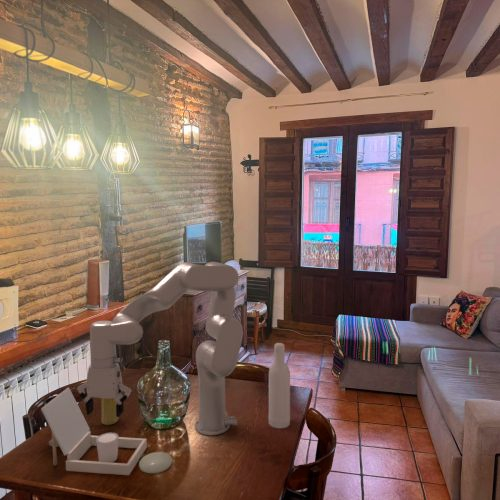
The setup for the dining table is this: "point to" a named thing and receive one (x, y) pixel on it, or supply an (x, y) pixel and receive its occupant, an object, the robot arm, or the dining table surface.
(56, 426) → the cold frame
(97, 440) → the shot glass
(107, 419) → the vase
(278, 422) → the bottle
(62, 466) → the dining table surface
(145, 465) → the saucer
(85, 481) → the dining table surface
